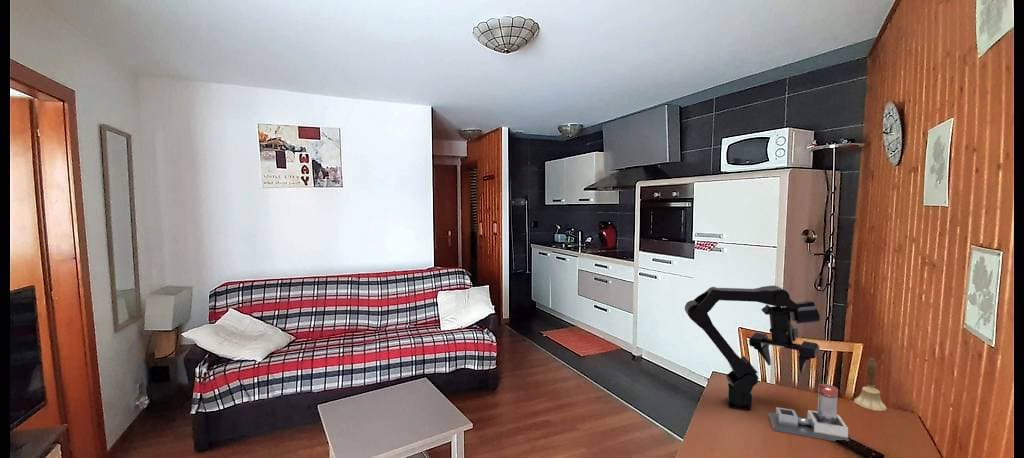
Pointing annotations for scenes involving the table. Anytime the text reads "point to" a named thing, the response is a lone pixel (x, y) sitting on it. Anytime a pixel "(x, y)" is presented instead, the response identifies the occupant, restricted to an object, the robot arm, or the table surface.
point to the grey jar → (827, 404)
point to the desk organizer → (808, 425)
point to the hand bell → (870, 391)
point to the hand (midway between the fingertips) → (785, 368)
